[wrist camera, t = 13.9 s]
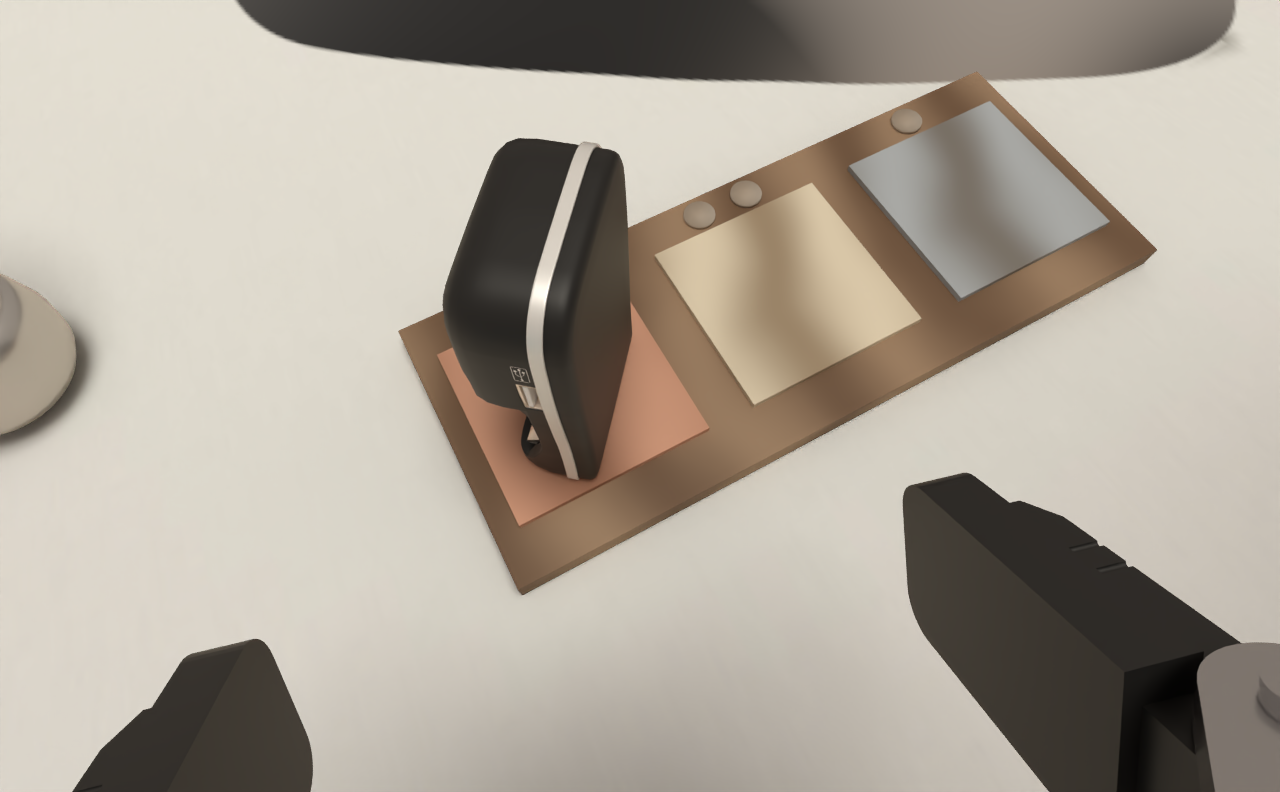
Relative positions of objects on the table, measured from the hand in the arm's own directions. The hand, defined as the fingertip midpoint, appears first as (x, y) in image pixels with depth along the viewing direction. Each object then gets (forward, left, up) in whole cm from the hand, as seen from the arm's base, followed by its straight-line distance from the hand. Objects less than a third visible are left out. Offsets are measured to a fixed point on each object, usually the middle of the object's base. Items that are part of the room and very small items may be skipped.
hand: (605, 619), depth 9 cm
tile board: (-13, -11, -18) cm, 25 cm away
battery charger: (-3, -11, -17) cm, 21 cm away
